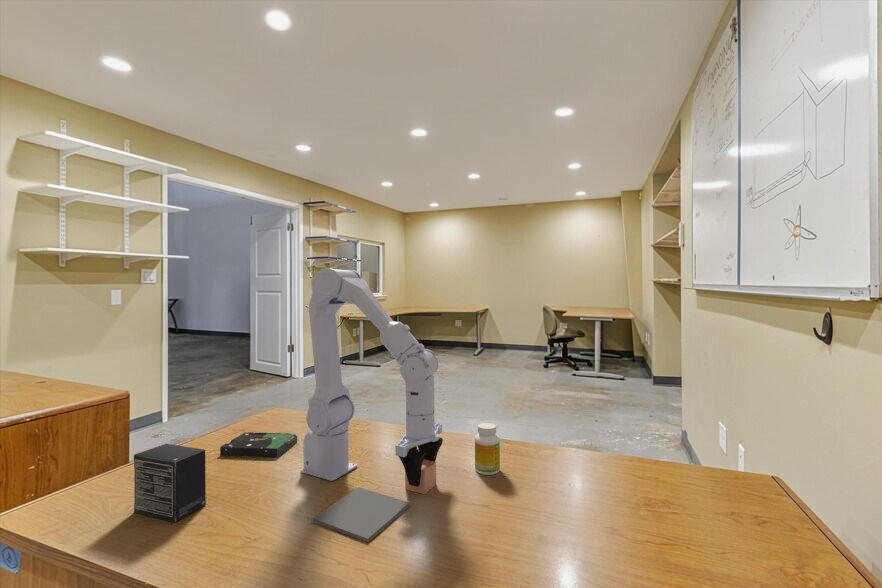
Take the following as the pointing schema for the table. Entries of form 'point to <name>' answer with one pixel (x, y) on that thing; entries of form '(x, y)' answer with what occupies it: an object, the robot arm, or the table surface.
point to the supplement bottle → (487, 450)
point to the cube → (424, 478)
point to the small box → (169, 481)
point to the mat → (361, 513)
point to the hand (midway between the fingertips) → (420, 479)
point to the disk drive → (259, 445)
